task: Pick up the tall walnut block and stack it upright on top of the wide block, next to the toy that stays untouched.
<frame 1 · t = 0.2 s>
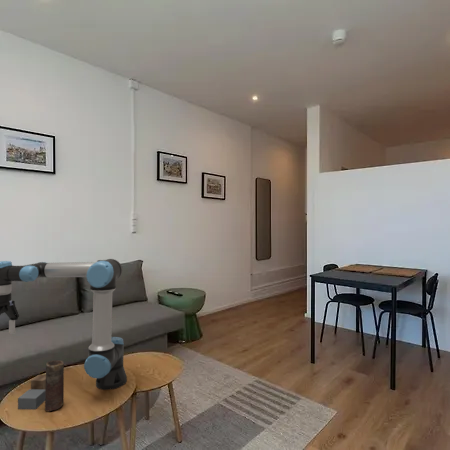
hand: (1, 337, 155), 27 cm above the table, fingers open, 13 cm apart
candle: (54, 407, 144), on the table
walnut block: (40, 394, 156), on the table
base block: (32, 404, 147), on the table
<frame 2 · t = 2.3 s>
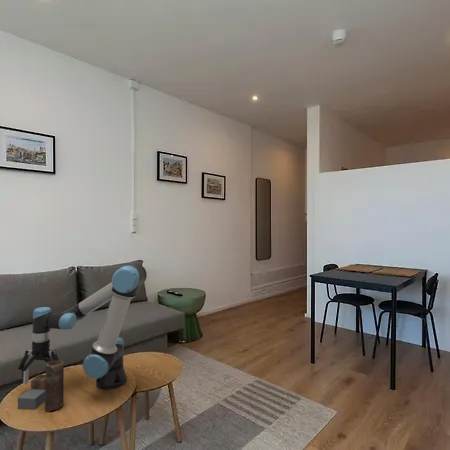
hand: (39, 384, 156), 5 cm above the table, fingers open, 13 cm apart
nothing on the table moved.
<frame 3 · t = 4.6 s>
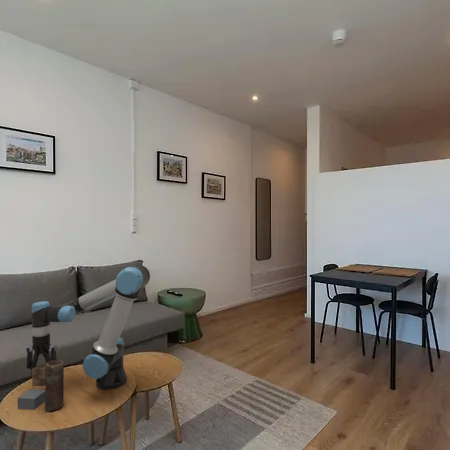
hand: (42, 382, 156), 6 cm above the table, fingers closed on walnut block, 6 cm apart
walnut block: (42, 383, 156), point 5 cm above the table, touching gripper
everything else where it was.
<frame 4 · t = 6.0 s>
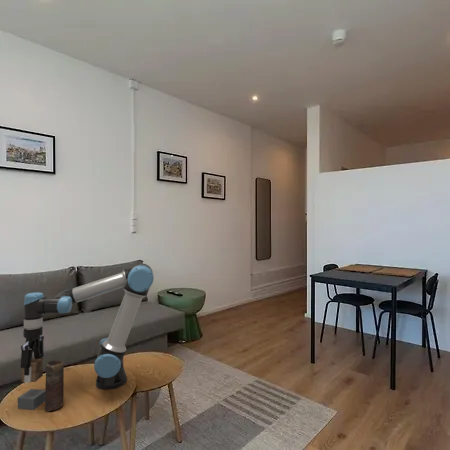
hand: (32, 378, 147), 12 cm above the table, fingers closed on walnut block, 6 cm apart
walnut block: (32, 378, 147), point 12 cm above the table, touching gripper
everything else where it was.
when the fingers open (6 cm above the table, at t = 7.6 s): walnut block stays where it is, resting on base block.
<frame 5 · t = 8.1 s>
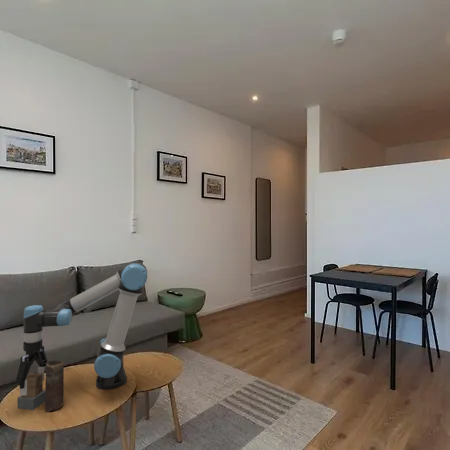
hand: (32, 387, 147), 8 cm above the table, fingers open, 12 cm apart
walnut block: (32, 394, 147), point 5 cm above the table, touching base block
base block: (32, 404, 147), on the table, touching walnut block
everything else where it was.
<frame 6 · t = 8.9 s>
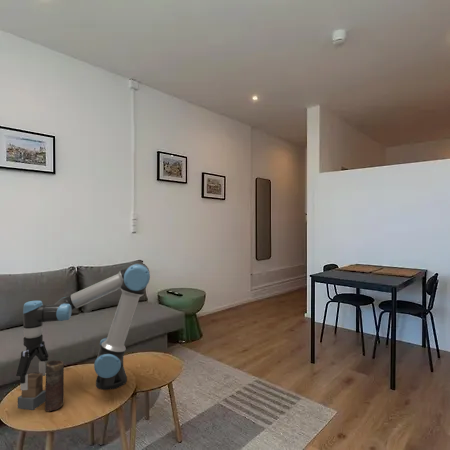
hand: (33, 382, 147), 10 cm above the table, fingers open, 13 cm apart
nothing on the table moved.
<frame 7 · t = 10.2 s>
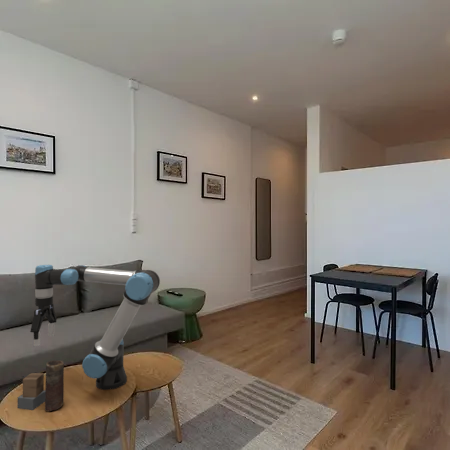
hand: (44, 340, 157), 25 cm above the table, fingers open, 13 cm apart
nothing on the table moved.
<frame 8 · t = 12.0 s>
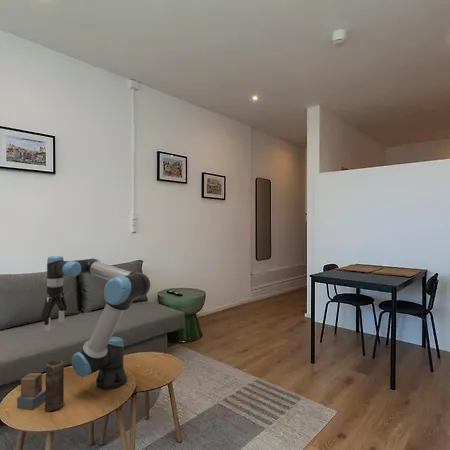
hand: (54, 326, 168), 29 cm above the table, fingers open, 13 cm apart
nothing on the table moved.
at the end: walnut block inside the target area on the base block (0.3 cm from its centre), point 5.0 cm above the base block's base; walnut block tilted 0°; the gripper is holding nothing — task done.
